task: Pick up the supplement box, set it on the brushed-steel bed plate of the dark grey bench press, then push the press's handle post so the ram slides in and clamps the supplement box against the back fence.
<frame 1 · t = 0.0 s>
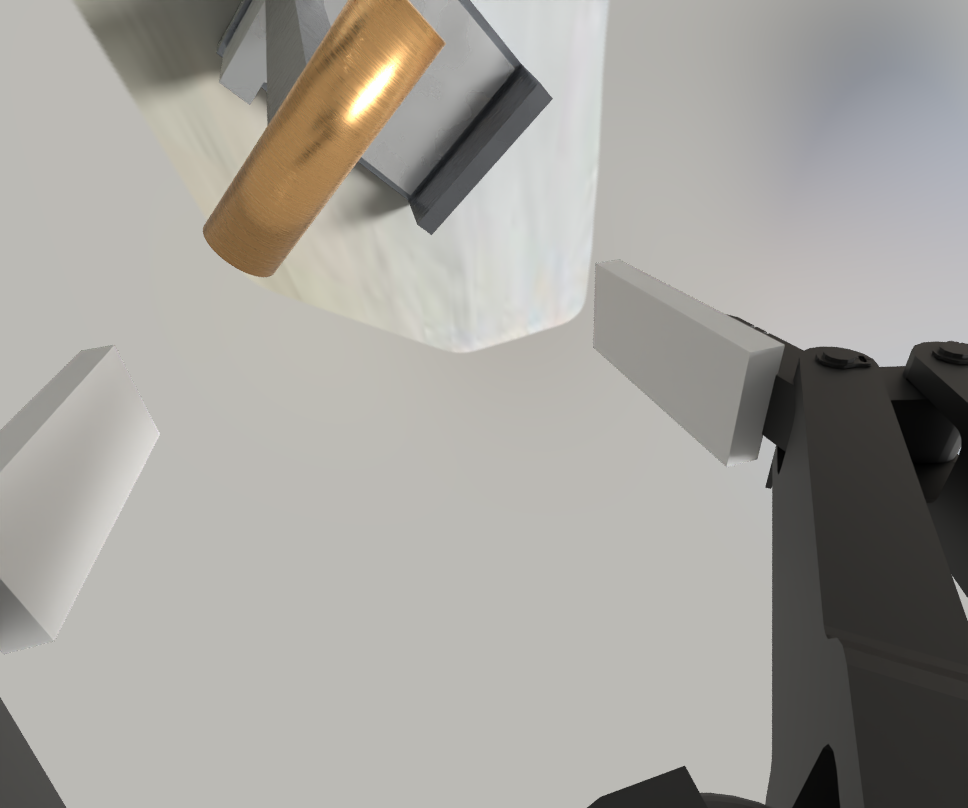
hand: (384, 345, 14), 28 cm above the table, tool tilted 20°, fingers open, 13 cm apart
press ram: (298, 33, 20), point 14 cm above the table, slide at 0.0 cm
press bed: (394, 68, 34), on the table
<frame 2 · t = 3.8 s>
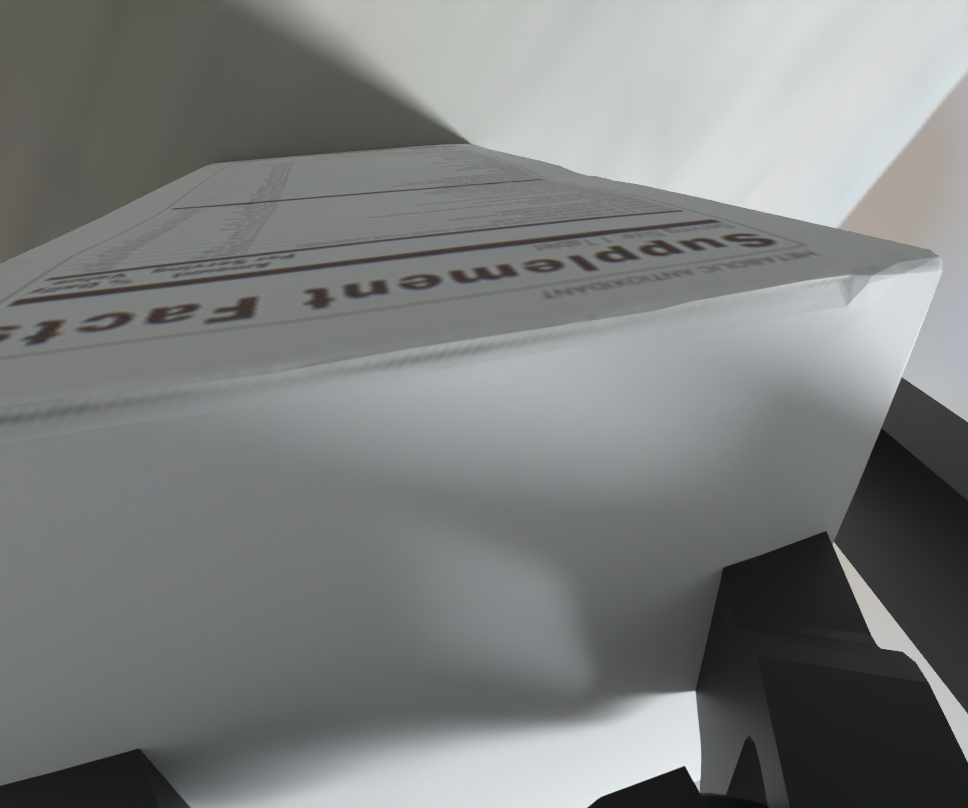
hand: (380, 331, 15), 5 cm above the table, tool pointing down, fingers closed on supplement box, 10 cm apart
supplement box: (369, 280, 20), on the table, touching gripper
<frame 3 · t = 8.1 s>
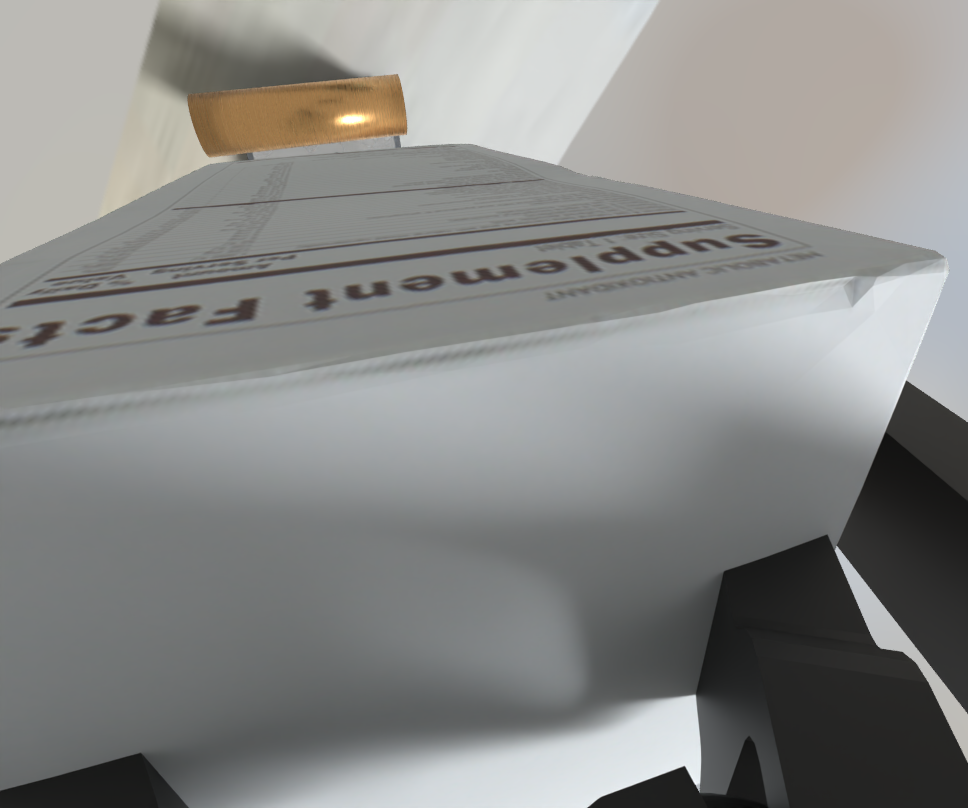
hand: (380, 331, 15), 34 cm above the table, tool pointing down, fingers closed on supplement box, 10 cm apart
supplement box: (369, 281, 20), point 29 cm above the table, touching gripper
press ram: (311, 111, 29), point 14 cm above the table, slide at 0.0 cm
press bed: (339, 208, 45), on the table
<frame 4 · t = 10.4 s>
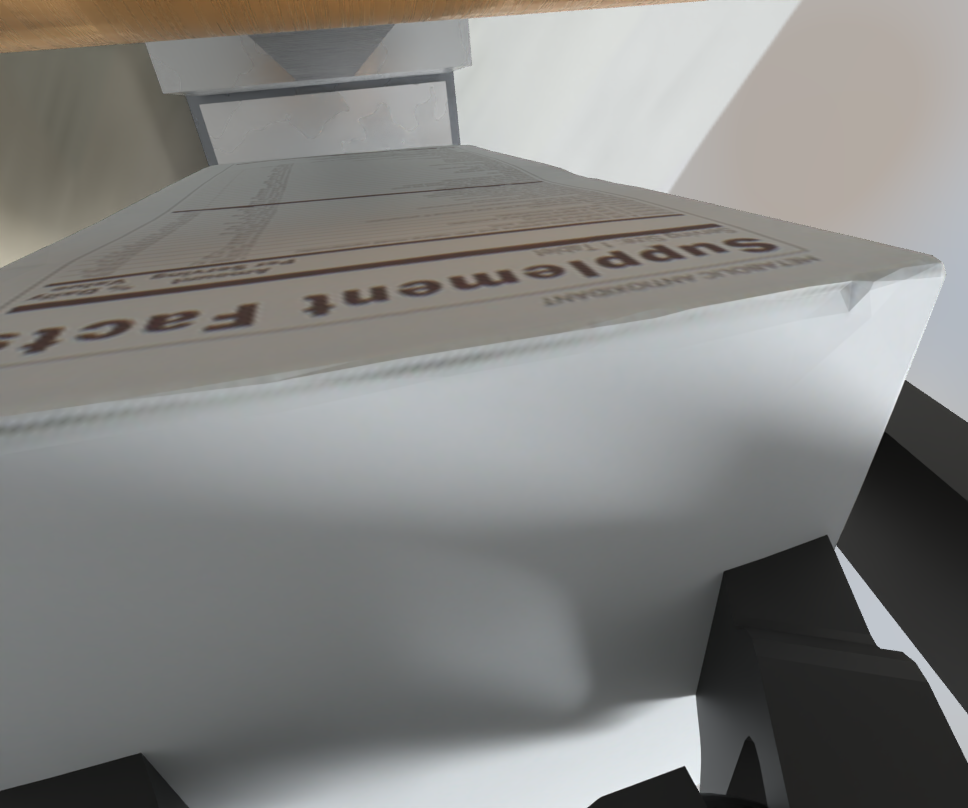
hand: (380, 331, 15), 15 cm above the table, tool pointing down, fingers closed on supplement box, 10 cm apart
supplement box: (369, 282, 20), point 10 cm above the table, touching gripper
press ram: (317, 28, 13), point 14 cm above the table, slide at 0.0 cm
press bed: (356, 230, 28), on the table
when the fingers open (8 cm above the table, at t = 12.4 s): supplement box drops 1 cm, resting on press bed.
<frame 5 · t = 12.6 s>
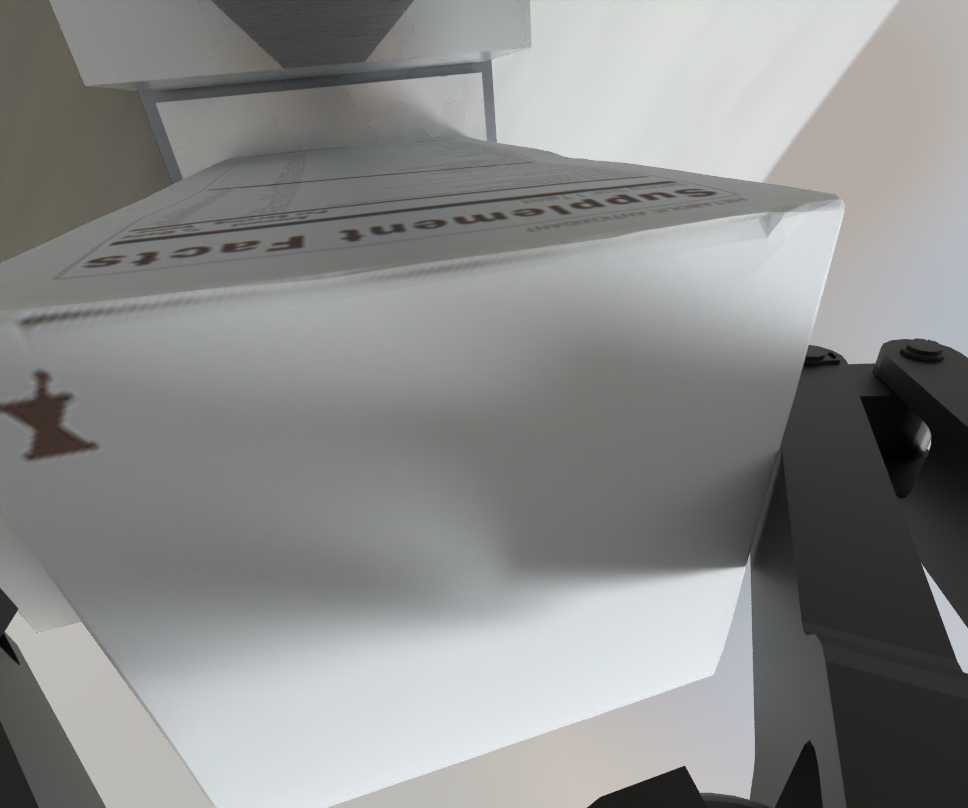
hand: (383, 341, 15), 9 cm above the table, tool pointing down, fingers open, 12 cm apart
supplement box: (375, 268, 21), point 2 cm above the table, touching press bed
press bed: (363, 261, 23), on the table
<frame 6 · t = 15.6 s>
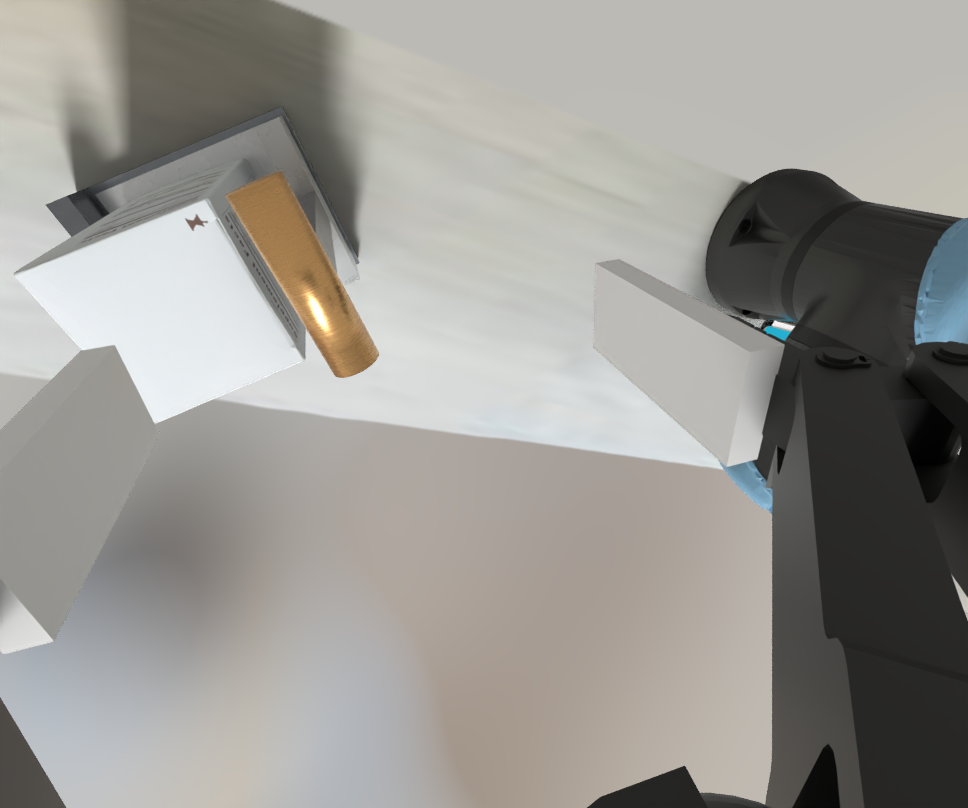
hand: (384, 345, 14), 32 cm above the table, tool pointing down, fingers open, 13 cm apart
supplement box: (223, 241, 39), point 2 cm above the table, touching press bed
tablet: (774, 362, 65), on the table
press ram: (311, 229, 29), point 14 cm above the table, slide at 0.0 cm
press bed: (222, 232, 40), on the table
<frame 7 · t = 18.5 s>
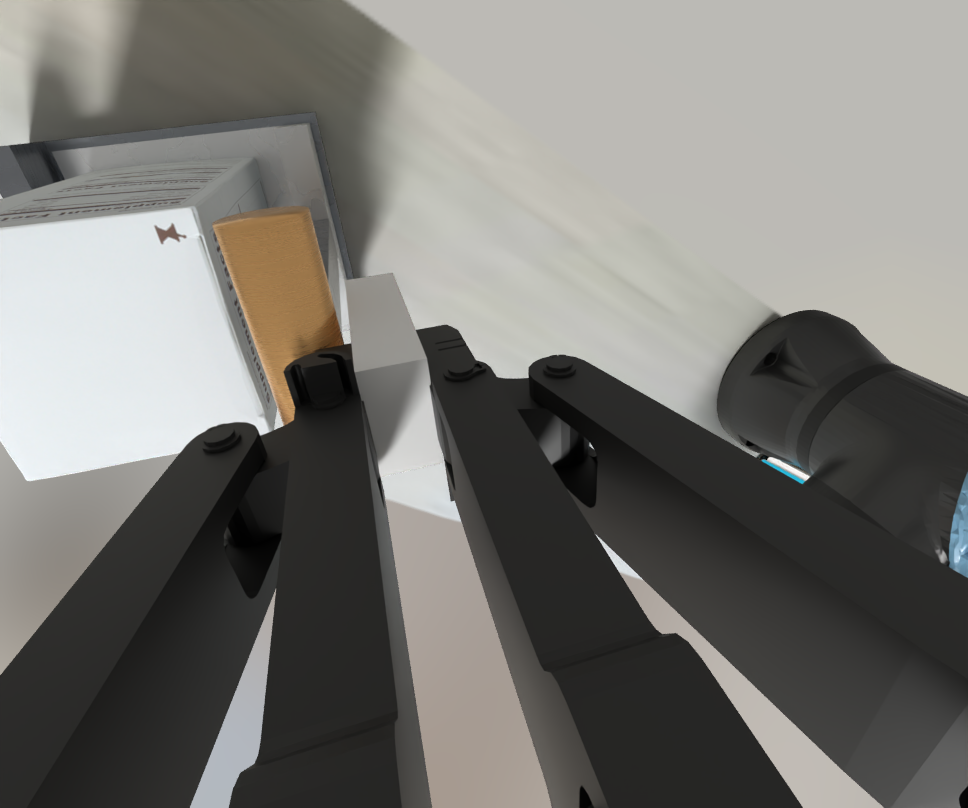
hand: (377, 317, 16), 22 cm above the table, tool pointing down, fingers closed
supplement box: (202, 245, 32), point 2 cm above the table, touching press bed
tablet: (758, 494, 62), on the table
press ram: (316, 269, 23), point 14 cm above the table, slide at 0.2 cm, touching gripper
press bed: (204, 233, 33), on the table
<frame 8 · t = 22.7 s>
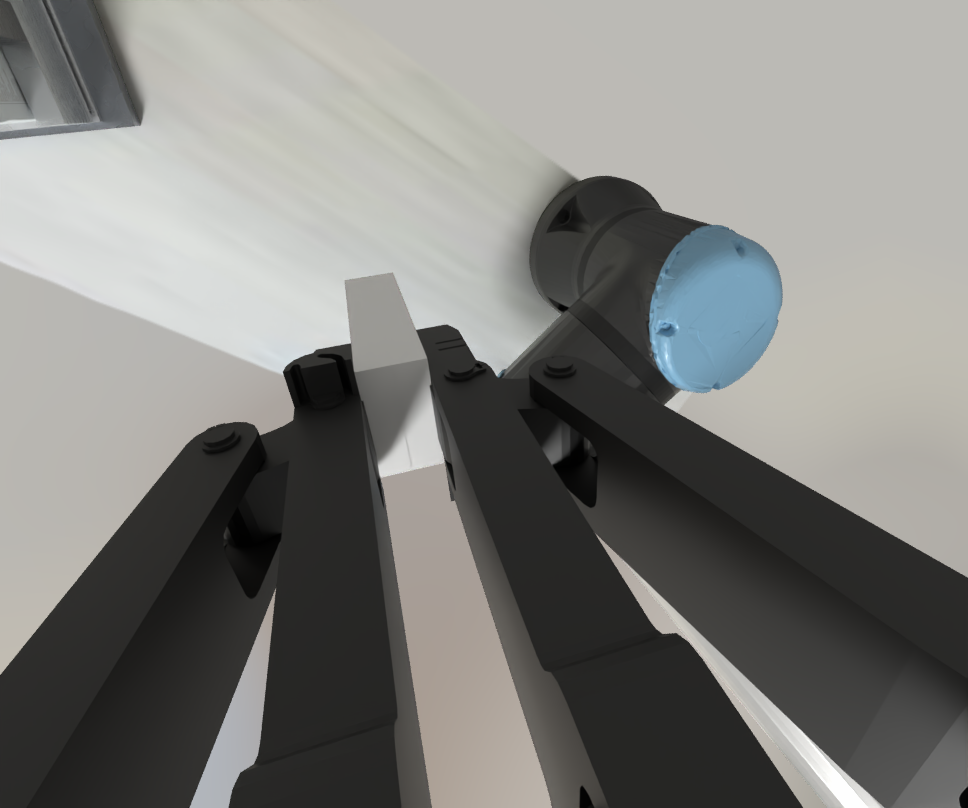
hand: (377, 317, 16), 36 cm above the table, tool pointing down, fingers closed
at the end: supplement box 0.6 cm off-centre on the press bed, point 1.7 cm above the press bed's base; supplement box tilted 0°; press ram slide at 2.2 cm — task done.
